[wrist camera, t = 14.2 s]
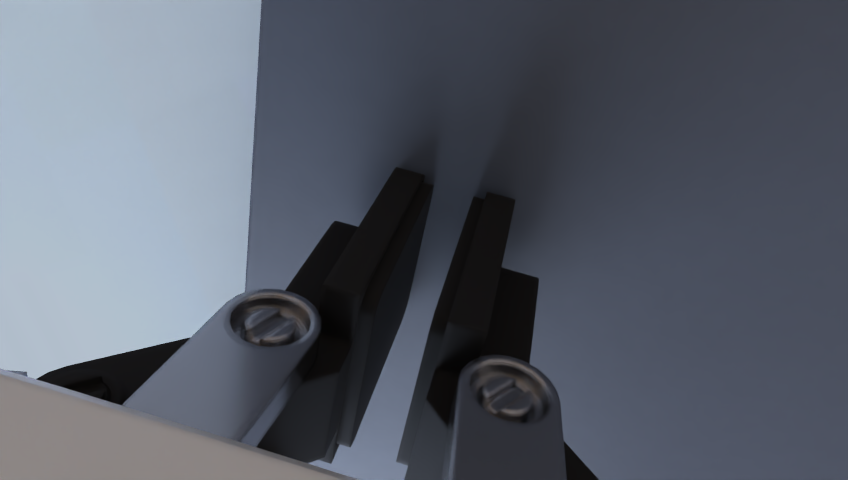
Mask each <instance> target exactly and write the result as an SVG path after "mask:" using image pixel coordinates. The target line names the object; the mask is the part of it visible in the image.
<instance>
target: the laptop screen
mask: <svg viewBox="0 0 848 480" xmlns="http://www.w3.org/2000/svg"><path fill="white" fill-rule="evenodd" d="M396 167H398V168H402V169H405V170H409V171H413V172H416V173H420V174H424V175H425V179H424V183H427V184H431V185H434V188H433V193H432V198H431V202H430V207H429V211H428V216H427V220H426V225H425V229H424V234H423V238H422V242H421V247H420V251H419V256H418V260H417V265H416V269H415V274H414V278H413V283H412V287H411V291H410V296H409V300H408V304H407V308H406V311H405V314H404V317H403V320H402V322H401V325H400V327H399V330H398V332H397V335H396V337H395V340H394V342H393V345H392V347H391V350H390V352H389V354H388V357H387V359H386V362H385V364H384V367H383V369H382V372H381V374H380V377H379V379H378V382H377V384H376V387H375V389H374V392H373V394H372V397H371V399H370V402H369V404H368V407H367V409H366V412H365V414H364V417H363V419H362V422H361V424H360V427H359V429H358V432H357V434H356V437H355V439H354V442H353V444H352V446H351V447H346V446H343V445H339V447H338V449H337V452H336V454H335V457H334V459H333V461H332V464H330V463H327V462H324V461H320V460H316V461H313V462H310V463H308V464H311V465H314V466H317V467H320V468H324V469H327V470H330V471H333V472H336V473H339V474H342V475H346V476H349V477H352V478H355V479H358V480H404V479H405V475H406V471H407V468H408V466H407V465H404V464H401V463H397V462H396V459H397V455H398V451H399V447H400V443H401V440H402V436H403V432H404V428H405V424H406V420H407V416H408V412H409V408H410V404H411V400H412V396H413V392H414V388H415V384H416V380H417V377H418V373H419V369H420V365H421V361H422V357H423V353H424V349H425V345H426V341H427V337H428V333H429V330H430V326H431V322H432V319H433V316H434V312H435V309H436V306H437V303H438V300H439V297H440V294H441V291H442V288H443V285H444V282H445V279H446V276H447V273H448V270H449V267H450V264H451V261H452V259H453V256H454V253H455V250H456V247H457V244H458V241H459V238H460V235H461V232H462V229H463V226H464V223H465V220H466V217H467V214H468V211H469V208H470V205H471V202H472V199H473V196H475V197H478V198H482V199H485V197H486V194H487V192H490V193H493V194H497V195H501V196H504V197H508V198H512V199H515V205H514V210H513V215H512V219H511V224H510V229H509V234H508V238H507V243H506V248H505V253H504V257H503V262H502V268H506V269H509V270H513V271H517V272H520V273H524V274H527V275H531V276H534V277H538V278H539V286H538V295H537V303H536V312H535V321H534V330H533V338H532V347H531V356H530V364H531V365H532V366H534V367H536V368H538V369H539V370H540V371H541V372H542V373H543V374H544V375H546V376H547V377H548V378H549V379H550V381H551V382H552V384H553V385H554V387H555V388H556V390H557V392H558V396H559V399H560V404H561V416H562V427H563V439H564V442H565V443H566V444H567V445H568V446H569V447H570V448H571V449H572V450H573V452H574V453H575V454H576V455H577V456H578V457H579V458H580V459H581V460H582V461H583V463H584V464H585V465H586V466H587V467H588V468H589V469H590V470H591V471H592V472H593V474H594V475H595V476H596V477H597V478H598V479H599V480H848V0H262V4H261V22H260V39H259V57H258V75H257V92H256V110H255V128H254V145H253V163H252V181H251V198H250V216H249V234H248V251H247V269H246V287H245V292H248V291H251V290H258V289H281V290H286V288H287V287H288V285H289V284H290V282H291V281H292V280H293V278H294V277H295V275H296V274H297V273H298V271H299V270H300V268H301V267H302V265H303V264H304V263H305V261H306V260H307V258H308V257H309V255H310V254H311V253H312V251H313V250H314V248H315V247H316V245H317V244H318V243H319V241H320V240H321V238H322V237H323V235H324V234H325V233H326V231H327V230H328V228H329V227H330V225H331V224H332V223H333V222H334V221H339V222H343V223H347V224H350V225H354V226H357V227H359V225H360V223H361V222H362V220H363V219H364V217H365V215H366V214H367V212H368V211H369V209H370V207H371V206H372V204H373V203H374V201H375V199H376V198H377V196H378V195H379V193H380V191H381V190H382V188H383V186H384V185H385V183H386V182H387V180H388V178H389V177H390V175H391V174H392V172H393V170H394V169H395V168H396Z"/></svg>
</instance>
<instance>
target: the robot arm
mask: <svg viewBox="0 0 848 480" xmlns="http://www.w3.org/2000/svg"><path fill="white" fill-rule="evenodd" d="M424 179H425V175H424V174H420V173H416V172H413V171H409V170H405V169H402V168H398V167H396V168H395V169H394V170H393V172H392V174H391V175H390V177H389V178H388V180H387V182H386V183H385V185H384V186H383V188H382V190H381V191H380V193H379V195H378V196H377V198H376V199H375V201H374V203H373V204H372V206H371V207H370V209H369V211H368V212H367V214H366V215H365V217H364V219H363V220H362V222H361V223H360V225H359V227H357V226H354V225H350V224H347V223H343V222H339V221H334V222H333V223H332V224H331V225H330V227H329V228H328V230H327V231H326V233H325V234H324V235H323V237H322V238H321V240H320V241H319V243H318V244H317V245H316V247H315V248H314V250H313V251H312V253H311V254H310V255H309V257H308V258H307V260H306V261H305V263H304V264H303V265H302V267H301V268H300V270H299V271H298V273H297V274H296V275H295V277H294V278H293V280H292V281H291V282H290V284H289V285H288V287H287V288H286V290H281V289H258V290H251V291H248V292H245V293H242V294H240V295H237V296H235V297H234V298H233V299H231V300H230V301H228V302H227V303H226V304H225V305H224V306H223V307H222V308H221V309H220V310H219V311H218V312H216V313H215V314H214V315H213V316H212V317H211V318H210V319H209V320H208V321H207V322H206V323H205V324H204V325H203V326H202V327H201V328H200V329H199V330H198V331H197V332H196V333H195V334H194V335H193V336H192V337H191V338H186V339H182V340H178V341H173V342H169V343H165V344H160V345H156V346H152V347H148V348H143V349H139V350H135V351H130V352H126V353H122V354H117V355H113V356H109V357H104V358H100V359H96V360H91V361H87V362H83V363H79V364H74V365H70V366H66V367H63V368H60V369H57V370H54V371H51V372H48V373H46V374H45V375H43V376H41V377H39V378H38V379H33V378H30V377H27V372H22V371H9V370H3V369H0V480H358V479H355V478H352V477H349V476H346V475H342V474H339V473H336V472H333V471H330V470H327V469H324V468H320V467H317V466H314V465H311V464H308V463H310V462H313V461H316V460H320V461H324V462H327V463H330V464H332V461H333V459H334V457H335V454H336V452H337V449H338V447H339V445H343V446H346V447H351V446H352V444H353V442H354V439H355V437H356V434H357V432H358V429H359V427H360V424H361V422H362V419H363V417H364V414H365V412H366V409H367V407H368V404H369V402H370V399H371V397H372V394H373V392H374V389H375V387H376V384H377V382H378V379H379V377H380V374H381V372H382V369H383V367H384V364H385V362H386V359H387V357H388V354H389V352H390V350H391V347H392V345H393V342H394V340H395V337H396V335H397V332H398V330H399V327H400V325H401V322H402V320H403V317H404V314H405V311H406V308H407V304H408V300H409V296H410V291H411V287H412V283H413V278H414V274H415V269H416V265H417V260H418V256H419V251H420V247H421V242H422V238H423V234H424V229H425V225H426V220H427V216H428V211H429V207H430V202H431V198H432V193H433V188H434V185H431V184H427V183H424ZM514 205H515V199H512V198H508V197H504V196H501V195H497V194H493V193H490V192H487V194H486V197H485V199H482V198H478V197H475V196H473V199H472V202H471V205H470V208H469V211H468V214H467V217H466V220H465V223H464V226H463V229H462V232H461V235H460V238H459V241H458V244H457V247H456V250H455V253H454V256H453V259H452V261H451V264H450V267H449V270H448V273H447V276H446V279H445V282H444V285H443V288H442V291H441V294H440V297H439V300H438V303H437V306H436V309H435V312H434V316H433V319H432V322H431V326H430V330H429V333H428V337H427V341H426V345H425V349H424V353H423V357H422V361H421V365H420V369H419V373H418V377H417V380H416V384H415V388H414V392H413V396H412V400H411V404H410V408H409V412H408V416H407V420H406V424H405V428H404V432H403V436H402V440H401V443H400V447H399V451H398V455H397V459H396V462H397V463H401V464H404V465H407V466H408V468H407V471H406V475H405V479H404V480H599V479H598V478H597V477H596V476H595V475H594V474H593V472H592V471H591V470H590V469H589V468H588V467H587V466H586V465H585V464H584V463H583V461H582V460H581V459H580V458H579V457H578V456H577V455H576V454H575V453H574V452H573V450H572V449H571V448H570V447H569V446H568V445H567V444H566V443H565V442H564V439H563V427H562V416H561V404H560V399H559V396H558V392H557V390H556V388H555V387H554V385H553V384H552V382H551V381H550V379H549V378H548V377H547V376H546V375H544V374H543V373H542V372H541V371H540V370H539V369H538V368H536V367H534V366H532V365H531V364H530V356H531V347H532V338H533V330H534V321H535V312H536V303H537V295H538V286H539V278H538V277H534V276H531V275H527V274H524V273H520V272H517V271H513V270H509V269H506V268H502V262H503V257H504V253H505V248H506V243H507V238H508V234H509V229H510V224H511V219H512V215H513V210H514Z"/></svg>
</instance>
